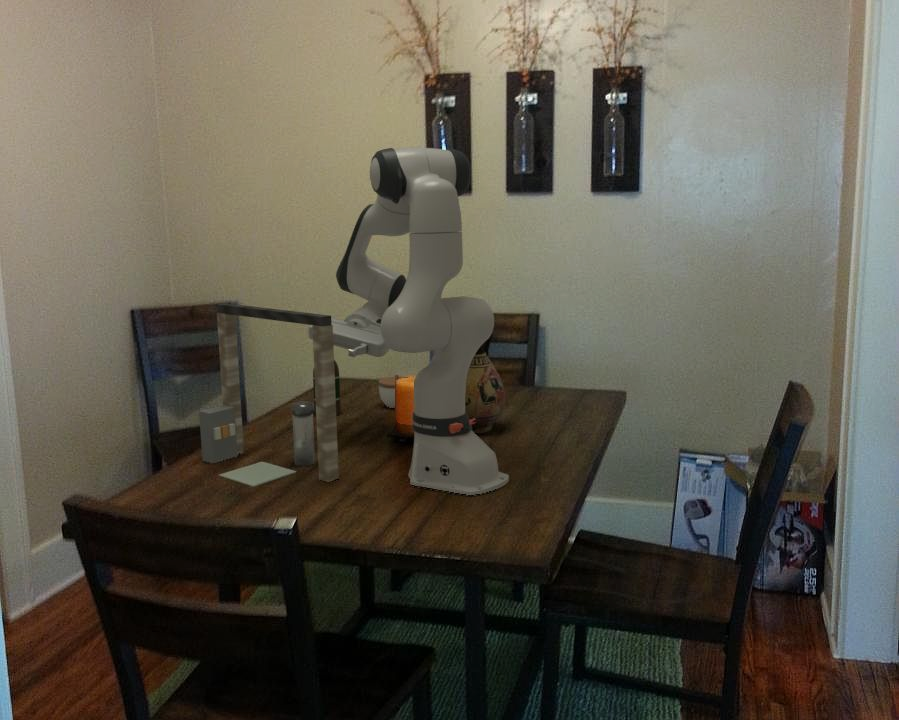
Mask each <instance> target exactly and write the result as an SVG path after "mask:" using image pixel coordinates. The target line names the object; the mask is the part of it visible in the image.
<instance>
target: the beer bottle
mask: <svg viewBox="0 0 899 720" xmlns="http://www.w3.org/2000/svg"><path fill="white" fill-rule="evenodd" d="M339 369H340V368H339V366H338V363H337V361H336V359H334V371H335V396H336V417H337V416H339V415H341V388H340V387H341V385H340V380H341V379H340V370H339ZM312 382H313V385H312V386H313V403H314V415H315V416H316V398H315V376H314V368H313V369H312Z"/></svg>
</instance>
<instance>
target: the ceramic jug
mask: <svg viewBox="0 0 899 720" xmlns="http://www.w3.org/2000/svg"><path fill="white" fill-rule="evenodd" d="M494 328H495V327H494ZM494 328H493V331H492V334H491V335H490V337H489V338H488V339H487V340H486V341H485V342H484V343H483V344H482V345H481V346H480V348H479V349H478V350H477V352H476V354H475V355H474V357H473V359H472V362H471V364H470V367H469V370H468V373H467V379H466V392H465V411H466V412H467V414H468V417H469V420H470V419H473V418H476V419H475V420H474V421H473V422H476V423H474V424H471V426H472V431H473V432H474V433H479V434H485V433H487V432H490V431H491V430H492V428H493V426H494V424H495V422H496V421H497V420H498V419H499V417H501V415H502V413H503V411H504V409H505V405H506V393H505V389H504V384H503V381H502V379H501V377H500V375H499V373H498V371H497V369H496V368H495V365H494V364H493V363H492V361H491V359H490V358H489V355H490V354H489V349H490V346H491V342H492V338H493V333H494Z"/></svg>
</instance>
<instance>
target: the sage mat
mask: <svg viewBox="0 0 899 720" xmlns="http://www.w3.org/2000/svg"><path fill="white" fill-rule="evenodd" d="M296 473H297V470H293V469H290V468H286V467H282V466H280V465H275V464H272V463H269V462H265V461H259V462H256V463H253V464H250V465H246V466H242V467H239V468H237V469H234V470H230V471H227V472H224V473H221V474H218V476H219V477H221V478H225V479H227V480H230V481H234V482H237V483H240V484H243V485H246V486H250V487H252V488H255V487H257V486H260V485H264V484H267V483H269V482H270V483H271V482H272V481H273V482H274V481H275V480H278V479H283V478H285V477H287V476H290V475H295V474H296Z"/></svg>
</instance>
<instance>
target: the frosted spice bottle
mask: <svg viewBox="0 0 899 720" xmlns="http://www.w3.org/2000/svg"><path fill="white" fill-rule="evenodd" d="M290 414H291V415H292V428H293V429H292V433H293V435H292V436H293V451H294V452H293V453H294V454H293V455H294V456H293V457H294V464H295V465H296V466H300V467H305V466H312V465H314V464H315V463H316V458H315V456H316V455H315V453H316V452H315V434H314V432H315V431H314V414H315V409H314V401H307V400H303V401H295V402H292V403H290Z"/></svg>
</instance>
